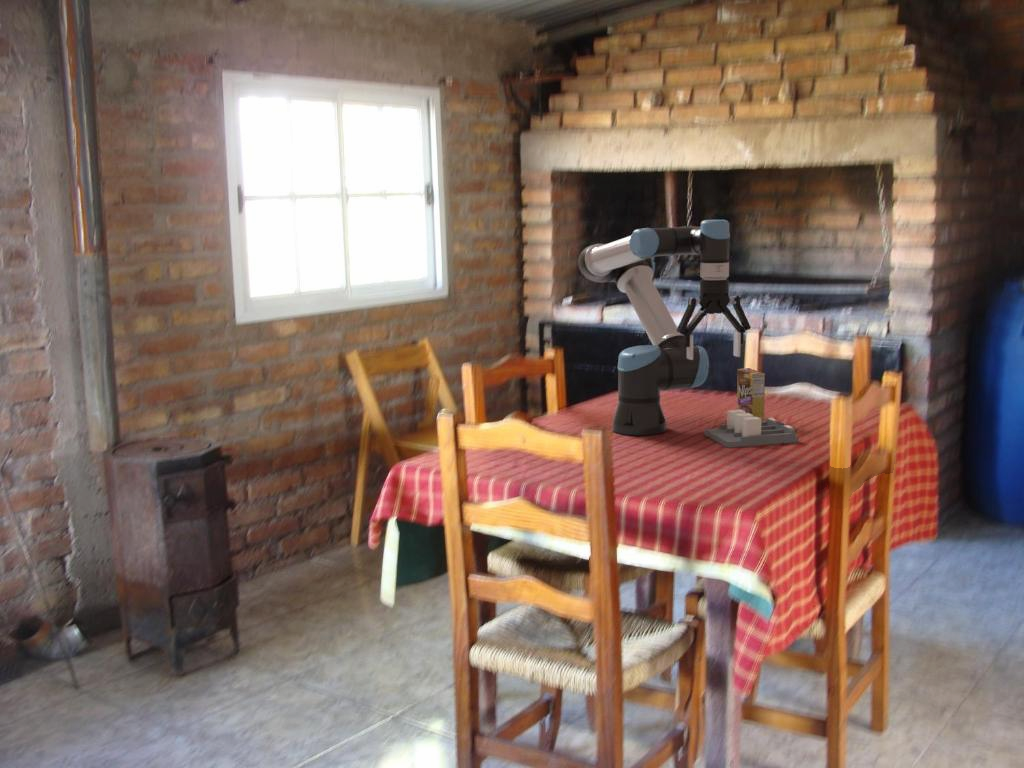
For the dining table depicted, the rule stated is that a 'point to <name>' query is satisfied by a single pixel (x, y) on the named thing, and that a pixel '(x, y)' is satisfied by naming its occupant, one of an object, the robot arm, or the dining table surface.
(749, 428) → the tab
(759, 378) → the candy box
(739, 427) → the tab
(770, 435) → the switch board
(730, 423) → the tab
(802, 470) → the dining table surface
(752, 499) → the dining table surface
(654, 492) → the dining table surface
